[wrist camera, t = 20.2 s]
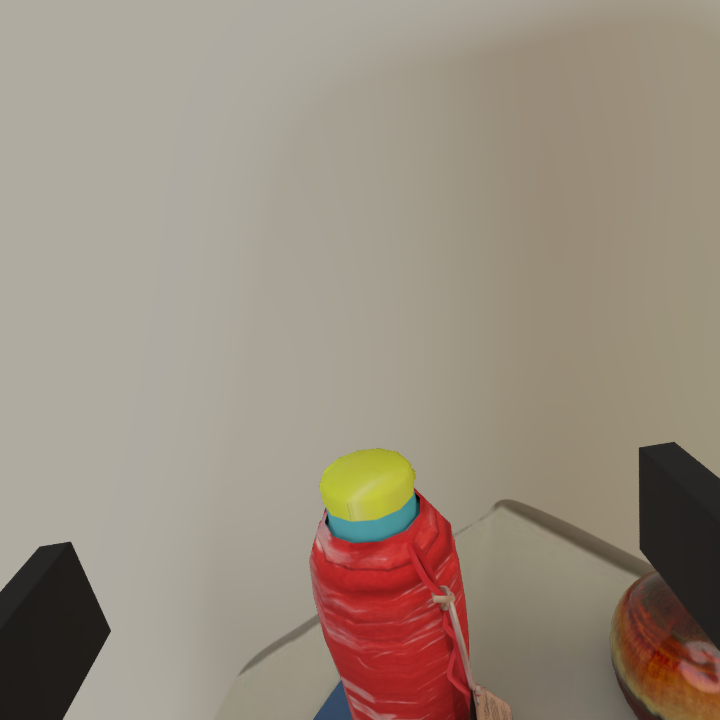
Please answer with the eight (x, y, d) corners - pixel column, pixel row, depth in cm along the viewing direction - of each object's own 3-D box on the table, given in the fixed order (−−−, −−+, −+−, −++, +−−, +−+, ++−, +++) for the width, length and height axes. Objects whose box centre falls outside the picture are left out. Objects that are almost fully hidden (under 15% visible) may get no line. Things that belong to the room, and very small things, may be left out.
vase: (853, 819, 28) (896, 603, 23) (631, 788, 31) (627, 592, 26) (759, 646, 38) (775, 468, 33) (598, 635, 41) (591, 473, 36)
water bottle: (585, 863, 28) (559, 477, 20) (494, 1012, 24) (414, 596, 16) (430, 712, 38) (369, 408, 30) (344, 800, 33) (246, 471, 25)
